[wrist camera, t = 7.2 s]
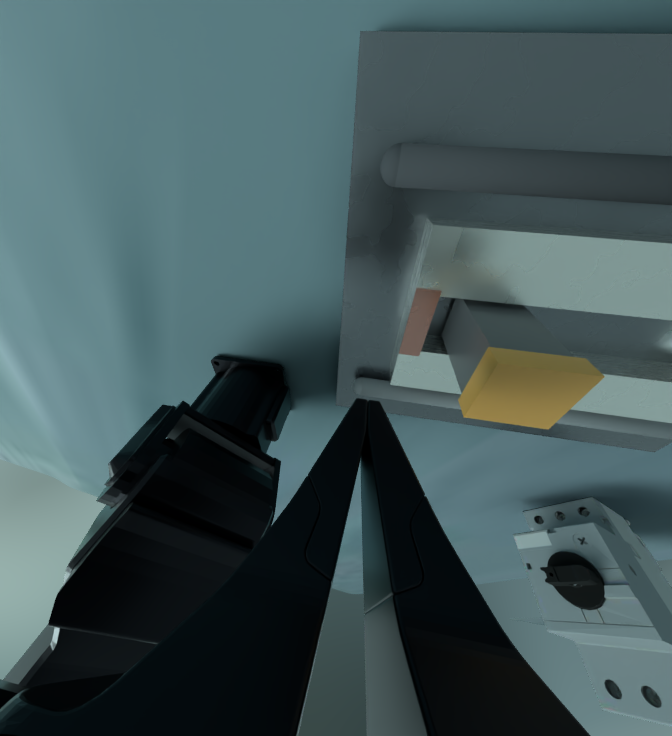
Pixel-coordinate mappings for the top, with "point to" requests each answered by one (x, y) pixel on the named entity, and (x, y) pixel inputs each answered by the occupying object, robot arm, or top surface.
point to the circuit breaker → (604, 603)
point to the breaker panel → (510, 216)
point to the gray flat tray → (528, 178)
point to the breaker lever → (512, 365)
